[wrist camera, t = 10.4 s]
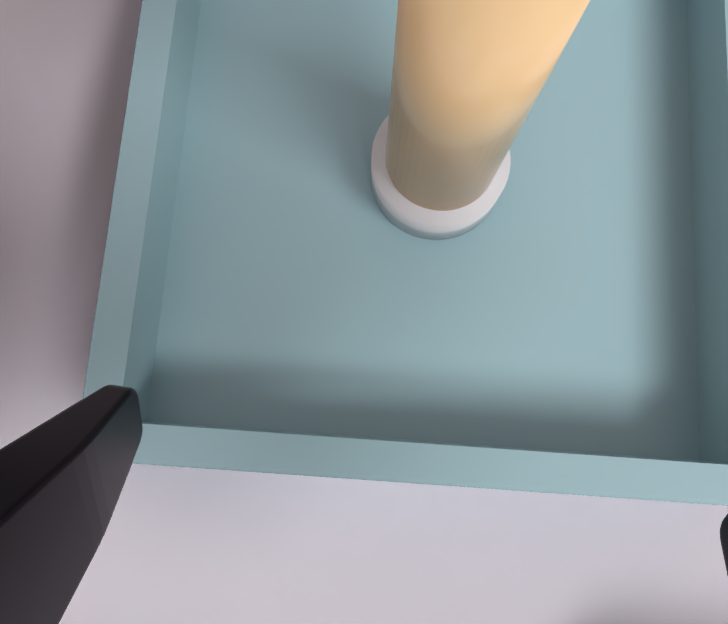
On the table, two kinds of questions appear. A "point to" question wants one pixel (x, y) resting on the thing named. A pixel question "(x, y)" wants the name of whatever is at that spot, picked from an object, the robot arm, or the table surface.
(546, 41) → the fuse
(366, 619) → the table surface
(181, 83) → the parts tray
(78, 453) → the robot arm
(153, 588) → the table surface
